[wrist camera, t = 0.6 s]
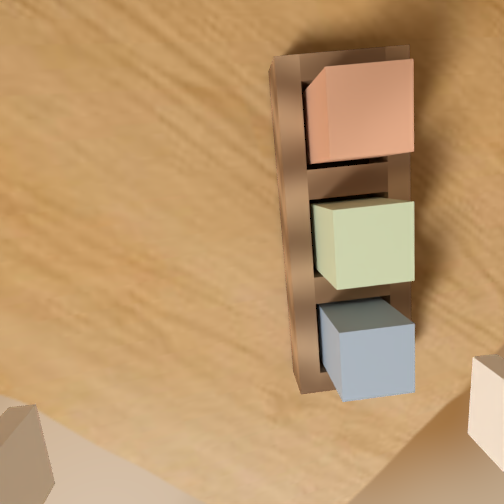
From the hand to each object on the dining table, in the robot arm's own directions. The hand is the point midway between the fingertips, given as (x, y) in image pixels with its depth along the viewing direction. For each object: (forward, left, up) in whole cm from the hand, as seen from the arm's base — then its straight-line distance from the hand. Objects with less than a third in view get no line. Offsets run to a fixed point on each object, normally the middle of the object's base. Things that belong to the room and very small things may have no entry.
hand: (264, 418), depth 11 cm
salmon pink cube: (-11, +10, -22) cm, 27 cm away
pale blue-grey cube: (+8, +10, -22) cm, 26 cm away
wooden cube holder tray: (-1, +10, -25) cm, 27 cm away
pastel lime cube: (-1, +10, -22) cm, 25 cm away
